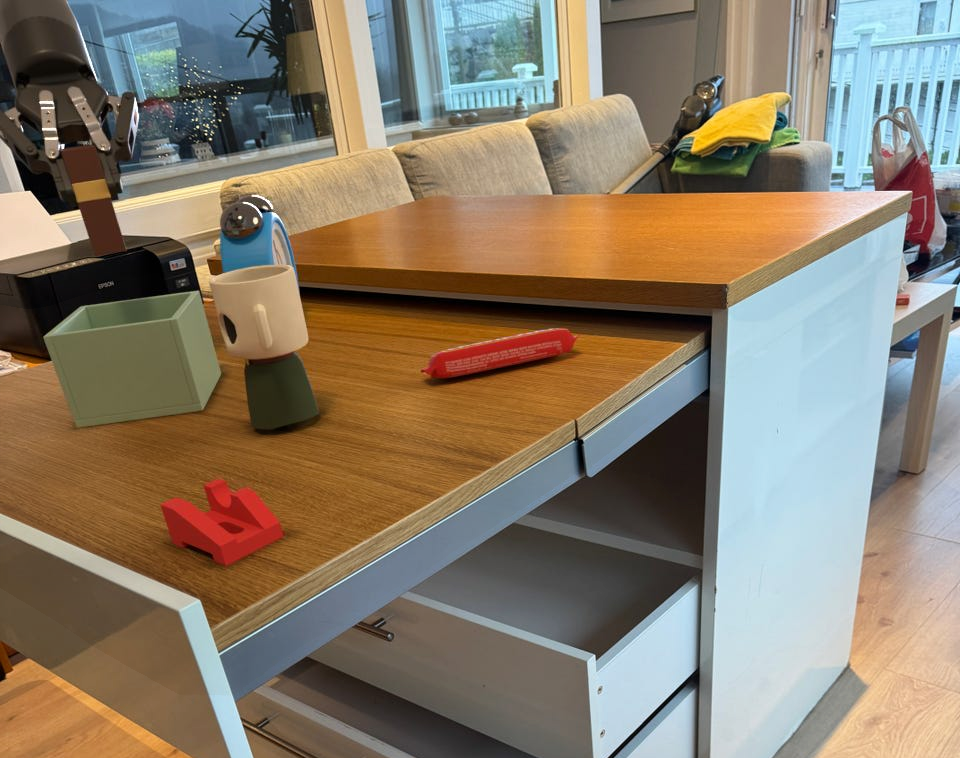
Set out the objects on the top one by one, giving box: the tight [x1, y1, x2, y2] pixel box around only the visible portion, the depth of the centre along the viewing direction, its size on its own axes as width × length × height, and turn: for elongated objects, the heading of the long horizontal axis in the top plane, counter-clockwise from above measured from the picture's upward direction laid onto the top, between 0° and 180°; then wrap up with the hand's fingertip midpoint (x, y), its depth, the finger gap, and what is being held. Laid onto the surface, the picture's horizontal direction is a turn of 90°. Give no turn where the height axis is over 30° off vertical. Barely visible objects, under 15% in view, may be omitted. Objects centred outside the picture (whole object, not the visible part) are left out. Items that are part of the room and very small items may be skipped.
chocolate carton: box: [60, 144, 127, 257], centre depth 86 cm, size 4×3×9 cm
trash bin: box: [43, 290, 222, 429], centre depth 90 cm, size 12×12×9 cm
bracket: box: [159, 478, 284, 567], centre depth 62 cm, size 6×5×3 cm
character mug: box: [208, 265, 320, 430], centre depth 78 cm, size 11×7×13 cm, turn 13°
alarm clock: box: [219, 194, 300, 291], centre depth 108 cm, size 13×6×15 cm, turn 0°
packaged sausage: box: [420, 327, 581, 379], centre depth 88 cm, size 16×4×3 cm, turn 109°
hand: (93, 196), depth 84 cm, fingers closed on chocolate carton, 3 cm apart
